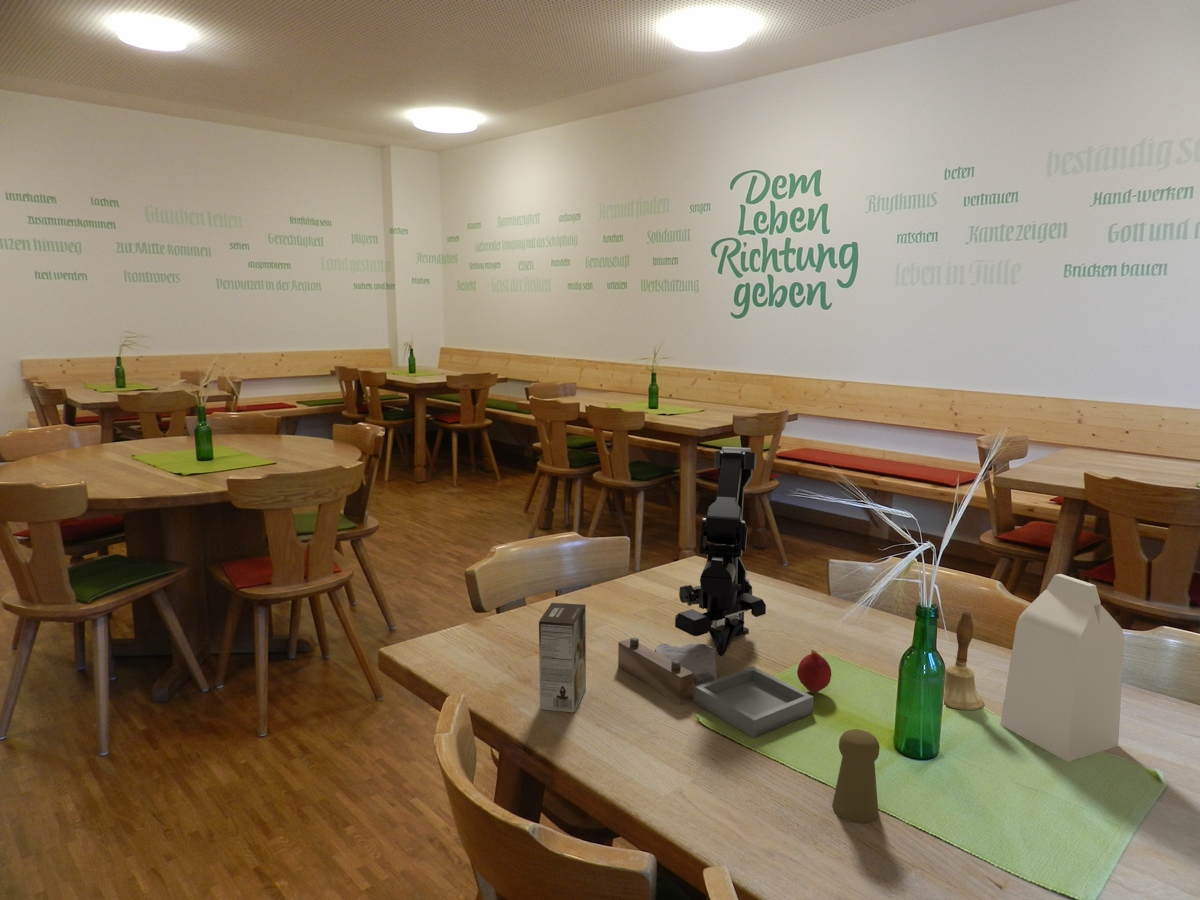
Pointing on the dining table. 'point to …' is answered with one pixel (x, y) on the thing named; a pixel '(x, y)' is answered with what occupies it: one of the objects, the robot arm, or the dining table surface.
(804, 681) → the onion
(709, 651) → the stone block
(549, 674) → the coffee box
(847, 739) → the brown peg figure
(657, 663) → the bar
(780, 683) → the tray
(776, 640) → the dining table surface
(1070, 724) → the milk
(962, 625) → the hand bell
